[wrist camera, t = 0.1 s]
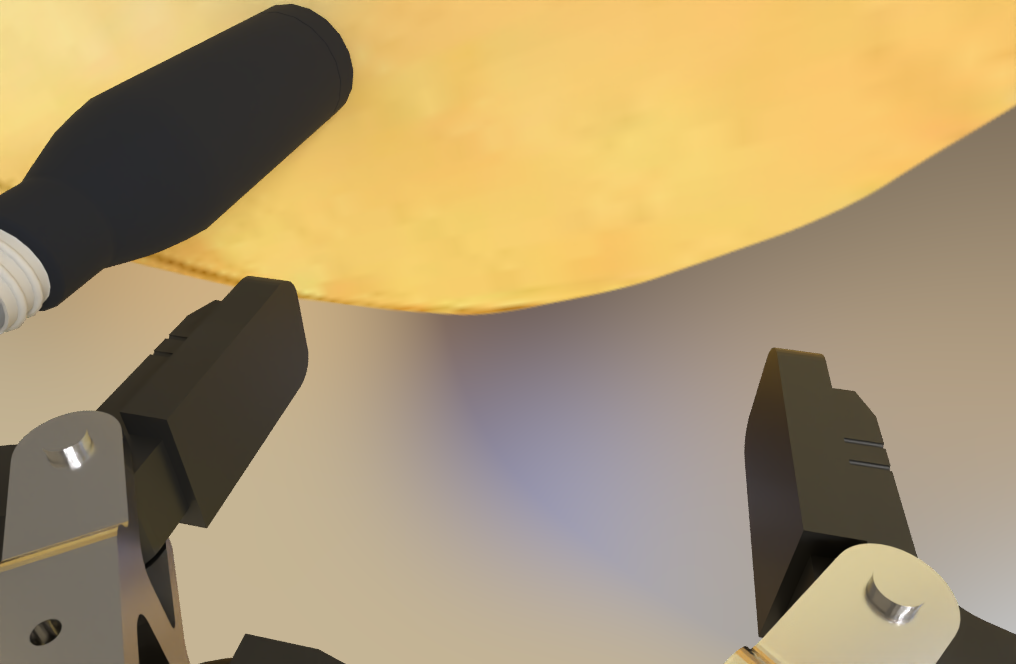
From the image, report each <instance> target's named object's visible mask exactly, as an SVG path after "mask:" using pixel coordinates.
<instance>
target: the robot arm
mask: <svg viewBox="0 0 1016 664" xmlns="http://www.w3.org/2000/svg"><path fill="white" fill-rule="evenodd" d="M307 367H308V348H307V343H306V338H305V333H304V328H303V322H302V317H301V312H300V307H299V302H298V296H297V292H296V289H295V286H294V285H293V284H292V283H291V282H289V281H283V280H276V279H268V278H261V277H253V276H247V277H245V278H243V279H242V280H241V281H240V282H239V283H238V284H237V285H236V286H235V287H234V288H233V290H232V291H231V292H230V293H229V294H228V295H227V296H226V297H225V298H224V299H223V300H222V301H218V300H215V301H213V302H211V303H209V304H207V305H206V306H204V307H202V308H200V309H198V310H197V311H195V312H193V313H191V314H190V315H188V316H187V317H186V318H185V319H184V320H183V321H182V322H181V323H180V324H179V325H178V326H177V327H176V328H175V329H174V330H173V331H172V332H171V333H170V334H169V339H165V340H164V341H163V342H162V343H161V344H160V345H159V346H158V347H157V348H156V349H155V350H154V354H153V355H149V356H148V357H147V358H146V359H145V360H144V361H143V362H142V364H141V365H140V366H139V367H138V368H137V369H136V370H135V371H134V372H133V373H132V374H131V375H130V376H129V377H128V378H127V379H126V380H125V381H124V382H123V383H122V384H121V385H120V386H119V387H118V388H117V389H116V391H114V392H113V394H112V395H111V396H110V397H109V398H108V399H107V400H106V401H105V402H104V403H103V404H102V405H101V406H100V407H99V408H98V409H97V410H96V411H78V412H73V413H68V414H65V415H61V416H58V417H56V418H53V419H51V420H49V421H47V422H45V423H43V424H41V425H39V426H38V427H36V428H35V429H33V430H32V431H31V432H30V433H29V434H27V435H26V436H25V437H24V438H23V439H22V440H21V441H20V442H19V443H18V444H17V445H6V446H0V664H190V662H189V658H188V655H187V650H186V646H185V640H184V633H183V625H182V618H181V610H180V602H179V595H178V587H177V580H176V572H175V564H174V556H173V549H172V545H171V542H170V540H169V536H170V535H171V533H172V532H173V530H174V529H175V527H176V526H177V525H178V523H183V524H188V525H193V526H198V527H203V528H207V527H208V526H209V524H210V523H211V521H212V520H213V518H214V517H215V515H216V513H217V512H218V511H219V509H220V508H221V506H222V505H223V503H224V502H225V500H226V499H227V497H228V496H229V494H230V493H231V491H232V489H233V488H234V486H235V485H236V483H237V482H238V480H239V479H240V477H241V476H242V474H243V473H244V471H245V470H246V468H247V467H248V465H249V464H250V462H251V461H252V459H253V458H254V456H255V455H256V453H257V452H258V450H259V448H260V447H261V445H262V444H263V443H264V441H265V440H266V438H267V437H268V435H269V433H270V432H271V430H272V429H273V427H274V426H275V424H276V423H277V421H278V420H279V418H280V417H281V415H282V414H283V412H284V411H285V409H286V408H287V406H288V405H289V403H290V402H291V400H292V399H293V397H294V396H295V394H296V393H297V391H298V389H299V388H300V387H301V385H302V383H303V381H304V378H305V375H306V372H307ZM883 445H884V442H883V439H882V435H881V432H880V429H879V426H878V422H877V418H876V416H875V415H874V414H873V413H872V411H871V410H870V409H869V408H868V407H867V405H866V404H865V403H864V402H863V401H862V399H861V398H860V397H859V396H858V395H857V394H856V392H855V391H849V390H842V389H834V388H832V386H831V381H830V377H829V373H828V369H827V364H826V360H825V357H824V356H823V355H822V354H818V353H810V352H803V351H795V350H788V349H780V348H772V349H771V351H770V352H769V354H768V357H767V360H766V363H765V366H764V370H763V373H762V377H761V380H760V383H759V386H758V389H757V393H756V396H755V399H754V403H753V406H752V409H751V412H750V416H749V419H748V424H747V430H746V436H745V452H744V453H745V469H746V481H747V494H748V507H749V519H750V531H751V544H752V558H753V570H754V584H755V597H756V609H757V621H758V634H759V637H762V640H761V641H760V642H759V643H758V644H757V645H756V646H754V647H753V648H752V649H749V648H748V647H746V646H744V647H742V648H740V649H739V650H738V651H736V652H735V653H734V654H733V655H732V656H731V657H730V658H729V659H728V660H727V661H726V662H725V663H724V664H1016V634H1014V633H1011V632H1009V631H1007V630H1004V629H1002V628H1000V627H998V626H995V625H993V624H991V623H988V622H986V621H984V620H982V619H980V618H978V617H976V616H974V615H972V614H971V613H969V612H967V611H966V610H964V609H963V608H961V607H960V606H958V603H957V600H956V599H955V596H954V594H953V592H952V591H951V589H950V588H949V586H948V585H947V583H946V582H945V581H944V580H943V579H942V578H941V576H940V575H939V574H938V573H937V572H935V571H934V570H933V569H932V568H931V567H930V566H928V565H927V564H926V563H924V562H923V561H921V560H920V559H918V557H917V554H916V551H915V548H914V544H913V541H912V538H911V535H910V531H909V527H908V524H907V520H906V517H905V514H904V510H903V507H902V503H901V500H900V497H899V493H898V490H897V486H896V483H895V480H894V476H893V473H892V471H890V463H889V459H888V456H887V453H886V449H883ZM200 664H345V663H343V662H341V661H339V660H337V659H335V658H333V657H332V656H330V655H328V654H326V653H324V652H323V651H321V650H319V649H314V648H310V647H305V646H300V645H296V644H291V643H287V642H282V641H277V640H273V639H268V638H263V637H258V636H254V635H249V634H245V636H244V637H243V639H242V641H241V643H240V645H239V647H238V649H237V650H236V652H235V654H234V656H233V658H225V659H220V660H214V661H208V662H204V663H200Z"/></svg>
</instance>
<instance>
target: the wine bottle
mask: <svg viewBox="0 0 1016 664" xmlns="http://www.w3.org/2000/svg"><path fill="white" fill-rule="evenodd" d="M352 81H353V68H352V63H351V59H350V55H349V51H348V49H347V48H346V46H345V44H344V42H343V40H342V38H341V36H340V34H339V33H338V32H337V31H336V30H335V29H334V28H333V27H332V26H331V24H330V23H329V22H328V21H327V20H326V19H324V18H323V17H321V16H320V15H318V14H317V13H315V12H313V11H312V10H310V9H308V8H304V7H301V6H297V5H294V4H286V5H275V6H273V7H271V8H269V9H267V10H265V11H263V12H261V13H259V14H257V15H255V16H253V17H251V18H249V19H247V20H245V21H243V22H241V23H239V24H237V25H235V26H233V27H231V28H229V29H227V30H225V31H223V32H221V33H219V34H217V35H215V36H213V37H211V38H209V39H207V40H205V41H204V42H202V43H200V44H198V45H196V46H194V47H192V48H190V49H188V50H186V51H184V52H182V53H180V54H178V55H176V56H174V57H172V58H170V59H168V60H166V61H164V62H162V63H160V64H158V65H156V66H154V67H152V68H150V69H148V70H146V71H144V72H142V73H140V74H138V75H136V76H134V77H132V78H130V79H128V80H126V81H124V82H123V83H121V84H119V85H117V86H115V87H113V88H111V89H109V90H107V91H105V92H103V93H101V94H99V95H97V96H95V97H93V98H91V99H90V100H89V101H88V102H86V103H85V104H84V105H83V106H82V107H81V108H80V109H79V110H77V111H76V112H75V113H74V114H73V115H72V116H71V117H70V118H69V119H68V120H67V121H66V122H65V123H64V124H63V125H62V126H61V127H60V128H59V129H58V130H57V131H56V132H55V133H54V135H53V136H52V138H51V139H50V140H49V142H48V143H47V145H46V146H45V148H44V149H43V151H42V152H41V154H40V155H39V157H38V158H37V160H36V161H35V163H34V164H33V166H32V167H31V168H30V170H29V172H28V173H27V175H26V176H25V178H24V179H23V181H22V182H21V183H20V184H18V185H17V186H15V187H13V188H11V189H10V190H8V191H6V192H5V193H3V194H1V195H0V334H2V333H4V332H8V331H11V330H14V329H16V328H19V327H20V326H21V325H22V324H23V322H24V321H25V320H26V318H29V317H31V316H34V315H35V314H36V313H37V312H38V311H45V310H48V309H50V308H53V307H55V306H58V305H59V304H60V303H61V302H63V301H64V300H65V299H66V298H68V297H69V296H70V295H71V294H72V293H74V292H75V291H76V290H78V288H80V287H81V286H83V285H84V284H85V283H86V282H87V281H88V280H90V279H91V278H92V277H94V276H95V275H96V274H97V273H99V272H100V271H101V270H102V269H104V268H108V267H111V266H115V265H118V264H122V263H126V262H129V261H132V260H136V259H139V258H142V257H146V256H149V255H152V254H154V253H157V252H160V251H163V250H165V249H167V248H169V247H171V246H174V245H176V244H178V243H180V242H182V241H184V240H187V239H188V238H190V237H192V236H194V235H196V234H198V233H199V232H201V231H203V230H205V229H207V228H208V227H209V226H210V225H211V224H212V223H213V222H214V221H216V220H217V219H218V218H219V217H220V216H221V215H222V214H223V213H225V212H226V211H227V210H228V209H229V208H230V207H231V206H232V205H233V204H235V203H236V202H237V201H238V200H239V199H240V198H241V197H242V196H244V195H245V194H246V193H247V192H248V191H249V190H250V189H251V188H252V187H254V186H255V185H256V184H257V183H258V182H259V181H260V180H261V179H263V178H264V177H265V176H266V175H267V174H268V173H269V172H270V171H271V170H273V169H274V168H275V167H276V166H277V165H278V164H279V163H280V162H282V161H283V160H284V159H285V158H286V157H287V156H288V155H289V154H290V153H292V152H293V151H294V150H295V149H296V148H297V147H298V146H299V145H301V144H302V143H303V142H304V141H305V140H306V139H307V138H308V137H309V136H311V135H312V134H313V133H314V132H315V131H316V130H317V129H318V128H320V127H321V126H322V125H323V124H324V123H325V122H326V121H327V120H328V119H330V118H331V117H332V116H333V115H334V114H335V113H336V112H337V111H338V110H339V109H340V108H341V107H342V106H343V105H344V104H345V103H346V101H347V99H348V96H349V94H350V92H351V89H352Z"/></svg>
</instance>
